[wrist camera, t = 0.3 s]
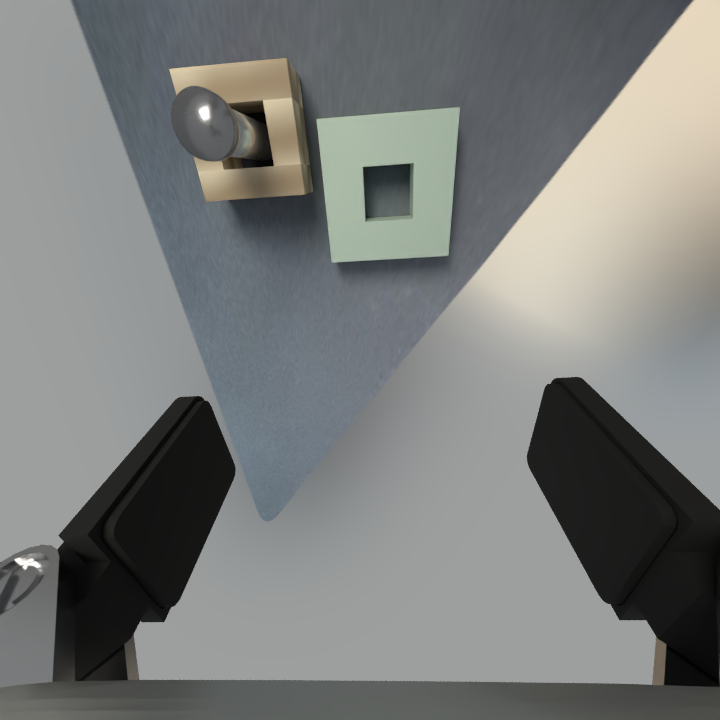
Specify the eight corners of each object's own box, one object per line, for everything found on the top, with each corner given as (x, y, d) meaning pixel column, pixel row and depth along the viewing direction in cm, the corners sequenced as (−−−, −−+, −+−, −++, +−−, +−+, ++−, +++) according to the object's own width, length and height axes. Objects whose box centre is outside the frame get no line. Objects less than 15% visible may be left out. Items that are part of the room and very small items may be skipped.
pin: (235, 118, 29) (161, 88, 19) (276, 115, 29) (223, 83, 19) (245, 166, 31) (183, 163, 21) (283, 163, 31) (240, 159, 21)
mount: (199, 84, 28) (169, 69, 24) (299, 75, 28) (286, 57, 23) (227, 197, 33) (206, 201, 28) (313, 191, 32) (304, 194, 28)
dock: (321, 123, 29) (316, 119, 27) (451, 113, 29) (459, 107, 26) (334, 256, 35) (331, 262, 33) (442, 249, 35) (448, 255, 32)
